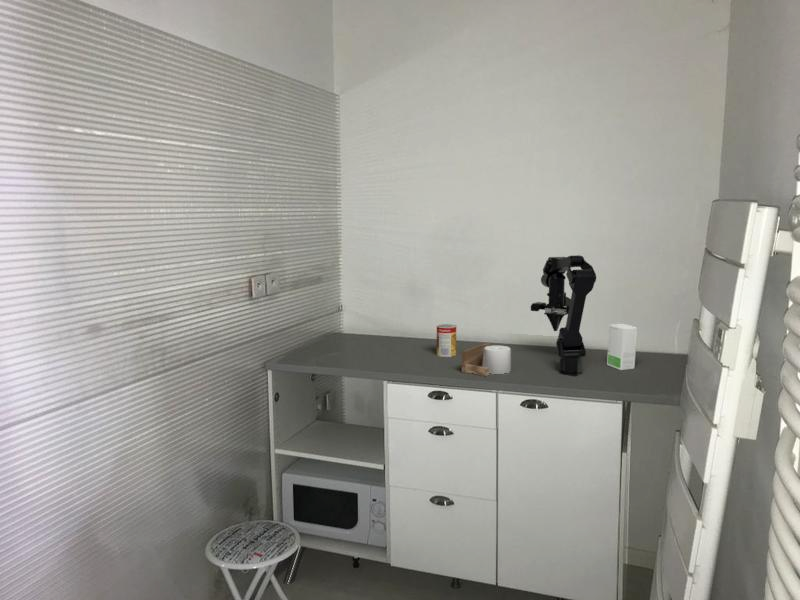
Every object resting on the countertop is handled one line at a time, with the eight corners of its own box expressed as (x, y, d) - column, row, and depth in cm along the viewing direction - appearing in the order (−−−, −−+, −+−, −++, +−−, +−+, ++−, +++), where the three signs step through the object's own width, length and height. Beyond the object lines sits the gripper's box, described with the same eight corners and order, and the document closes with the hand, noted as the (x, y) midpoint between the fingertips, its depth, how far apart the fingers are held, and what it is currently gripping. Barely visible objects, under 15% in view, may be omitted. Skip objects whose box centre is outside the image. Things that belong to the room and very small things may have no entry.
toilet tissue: (477, 375, 229) (477, 351, 228) (489, 367, 241) (489, 344, 239) (501, 378, 225) (502, 354, 224) (513, 369, 236) (513, 346, 235)
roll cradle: (511, 367, 240) (511, 346, 239) (486, 376, 227) (486, 354, 226) (486, 363, 246) (487, 342, 245) (461, 372, 233) (461, 350, 232)
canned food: (456, 352, 265) (456, 323, 263) (456, 357, 257) (456, 327, 255) (437, 352, 265) (437, 323, 264) (436, 357, 258) (436, 327, 256)
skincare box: (606, 365, 241) (607, 324, 239) (620, 363, 243) (622, 322, 241) (621, 370, 233) (623, 328, 231) (636, 368, 236) (638, 326, 233)
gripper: (589, 289, 244) (587, 330, 246) (543, 286, 256) (543, 325, 258) (576, 292, 235) (575, 335, 238) (530, 289, 247) (529, 329, 249)
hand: (555, 330), depth 246 cm, fingers closed
